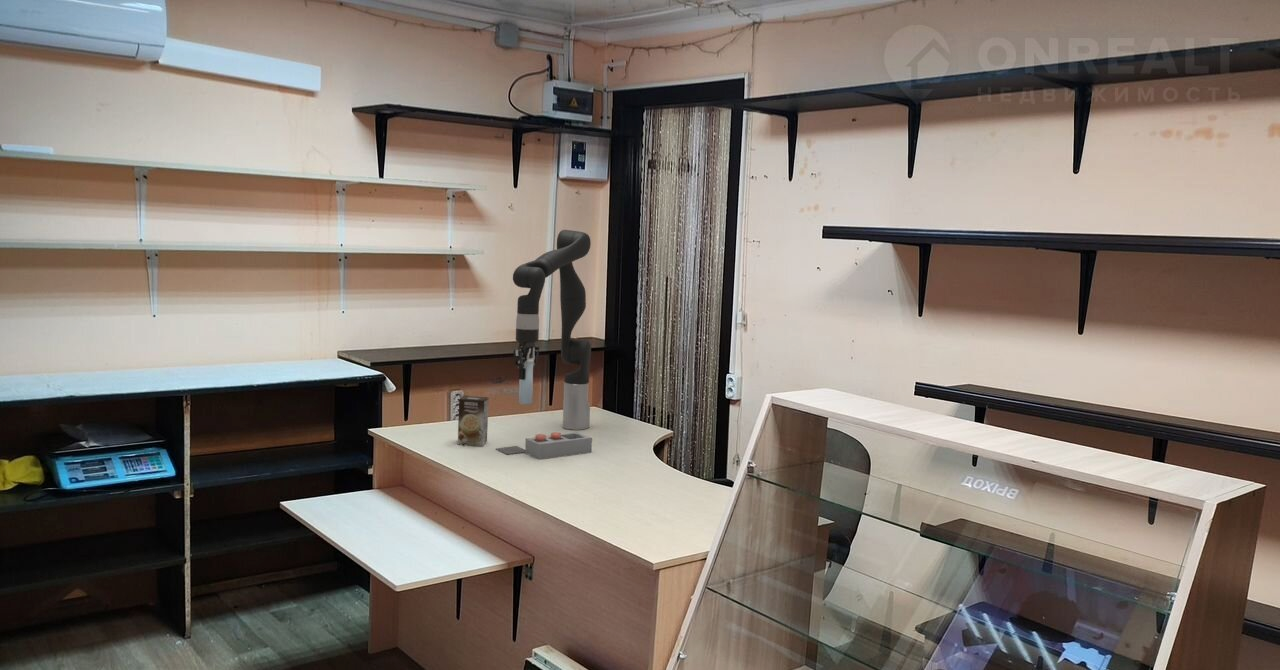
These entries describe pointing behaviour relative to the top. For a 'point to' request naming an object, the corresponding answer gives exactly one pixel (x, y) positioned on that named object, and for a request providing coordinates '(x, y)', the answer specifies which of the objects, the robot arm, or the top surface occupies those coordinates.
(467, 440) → the coffee box
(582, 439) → the housing
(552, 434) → the plunger
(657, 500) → the top surface
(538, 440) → the plunger
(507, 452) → the mat
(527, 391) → the cartridge
